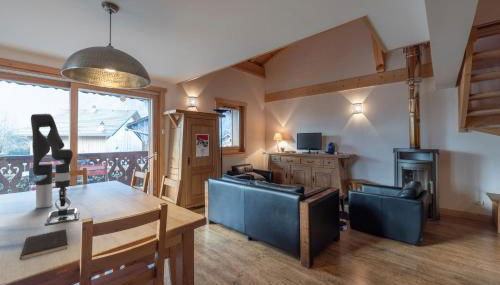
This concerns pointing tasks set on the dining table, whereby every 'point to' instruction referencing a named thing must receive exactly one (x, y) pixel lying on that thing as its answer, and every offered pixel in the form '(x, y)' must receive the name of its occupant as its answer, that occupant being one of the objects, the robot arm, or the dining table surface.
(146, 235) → the dining table surface
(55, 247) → the hardcover book
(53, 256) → the dining table surface
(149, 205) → the dining table surface
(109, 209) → the dining table surface
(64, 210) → the watch
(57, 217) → the rack
